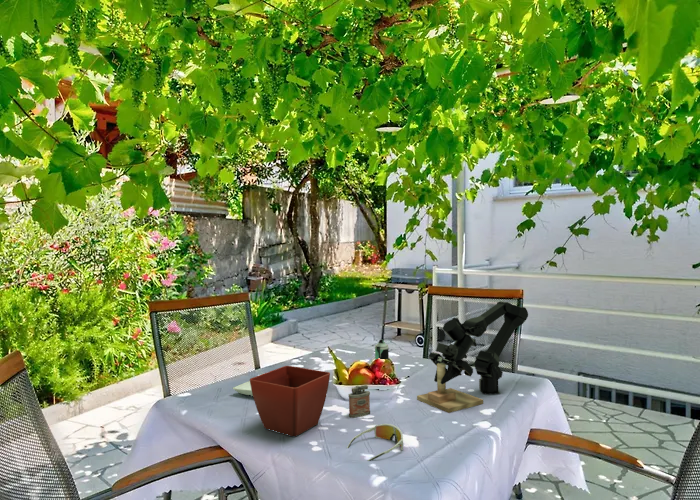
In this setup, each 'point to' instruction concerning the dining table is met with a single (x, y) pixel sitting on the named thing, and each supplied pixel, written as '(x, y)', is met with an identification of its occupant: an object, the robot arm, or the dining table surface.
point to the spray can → (381, 350)
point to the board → (453, 401)
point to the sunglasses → (385, 436)
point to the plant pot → (290, 398)
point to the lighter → (359, 402)
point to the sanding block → (441, 388)
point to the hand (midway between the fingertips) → (438, 382)
